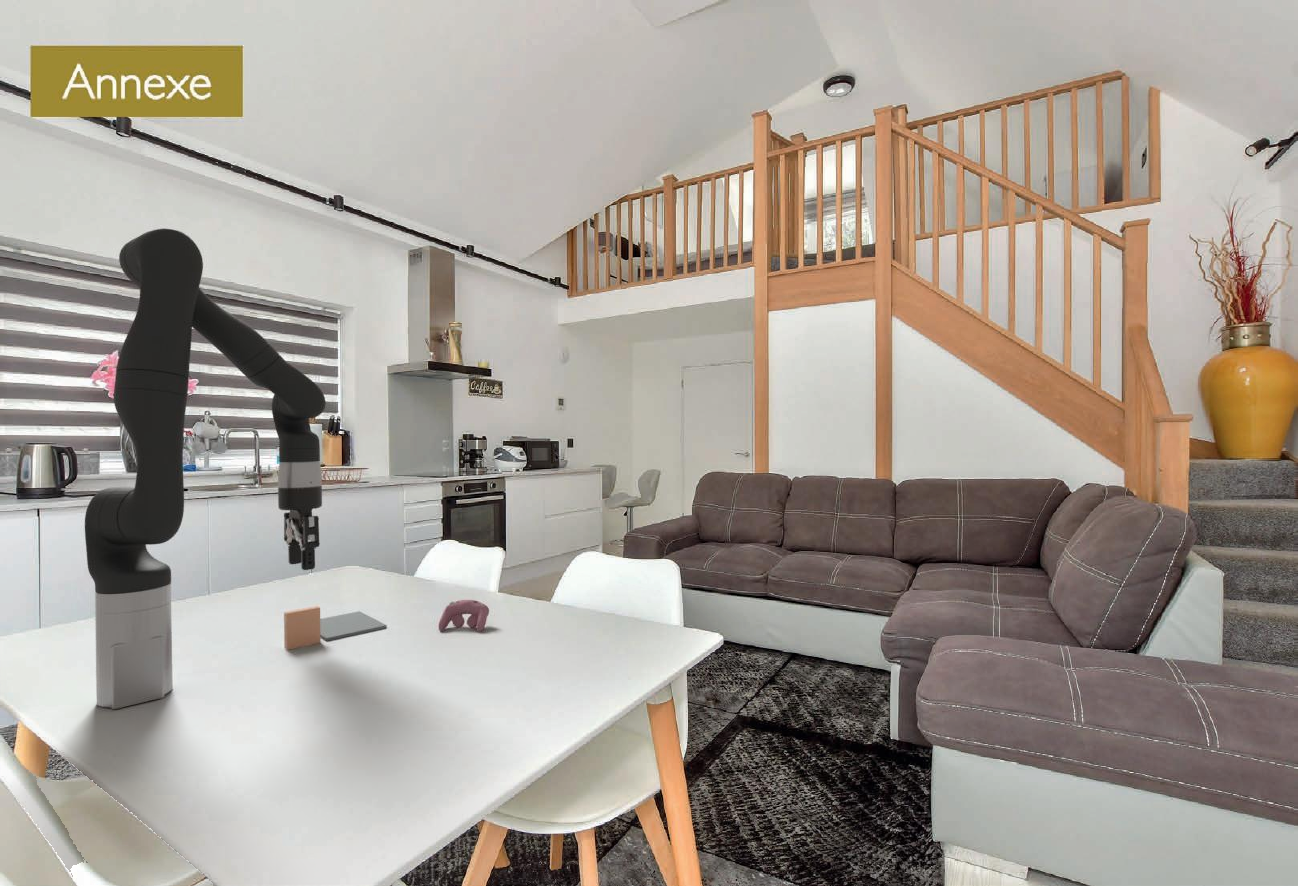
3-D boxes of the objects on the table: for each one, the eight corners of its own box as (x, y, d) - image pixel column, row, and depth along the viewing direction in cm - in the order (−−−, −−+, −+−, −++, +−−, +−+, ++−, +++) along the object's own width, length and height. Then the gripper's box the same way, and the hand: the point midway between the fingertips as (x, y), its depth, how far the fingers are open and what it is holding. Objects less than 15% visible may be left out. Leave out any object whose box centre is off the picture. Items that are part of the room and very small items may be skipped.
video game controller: (488, 634, 131) (492, 601, 134) (481, 631, 126) (486, 597, 130) (443, 634, 131) (449, 601, 135) (435, 630, 127) (441, 596, 130)
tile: (320, 642, 122) (320, 607, 122) (286, 649, 118) (286, 613, 118) (317, 640, 123) (317, 605, 123) (284, 647, 119) (283, 612, 119)
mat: (386, 627, 131) (386, 625, 131) (326, 641, 123) (326, 638, 123) (359, 613, 142) (359, 611, 142) (302, 625, 134) (302, 622, 134)
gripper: (332, 485, 118) (334, 568, 118) (309, 482, 128) (311, 559, 128) (289, 487, 113) (290, 575, 113) (269, 484, 123) (270, 564, 123)
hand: (301, 566), depth 121 cm, fingers open, 8 cm apart
